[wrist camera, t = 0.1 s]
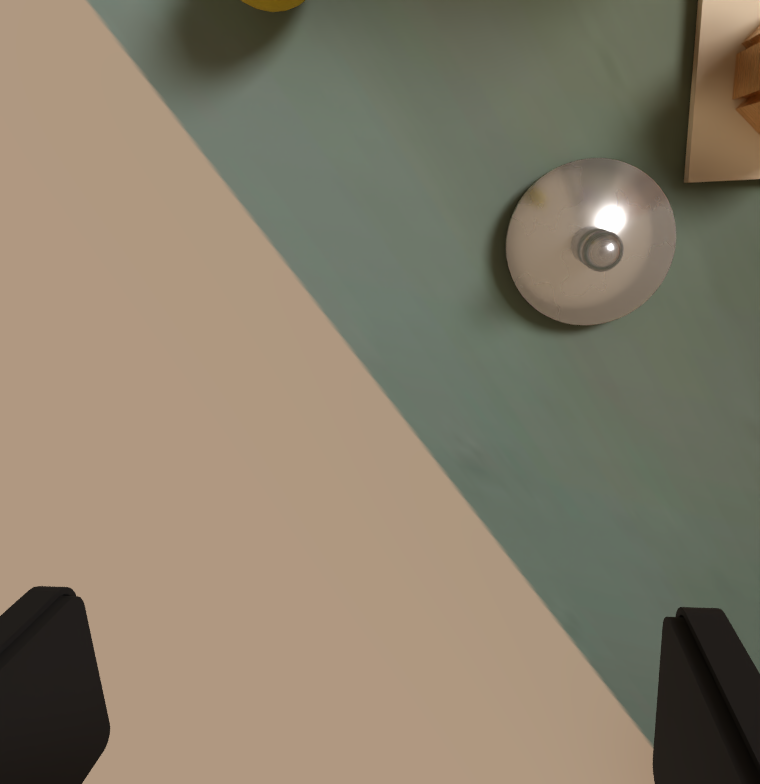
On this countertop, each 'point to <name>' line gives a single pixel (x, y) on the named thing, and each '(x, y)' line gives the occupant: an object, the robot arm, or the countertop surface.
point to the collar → (749, 80)
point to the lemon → (273, 4)
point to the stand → (720, 96)
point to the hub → (590, 241)
